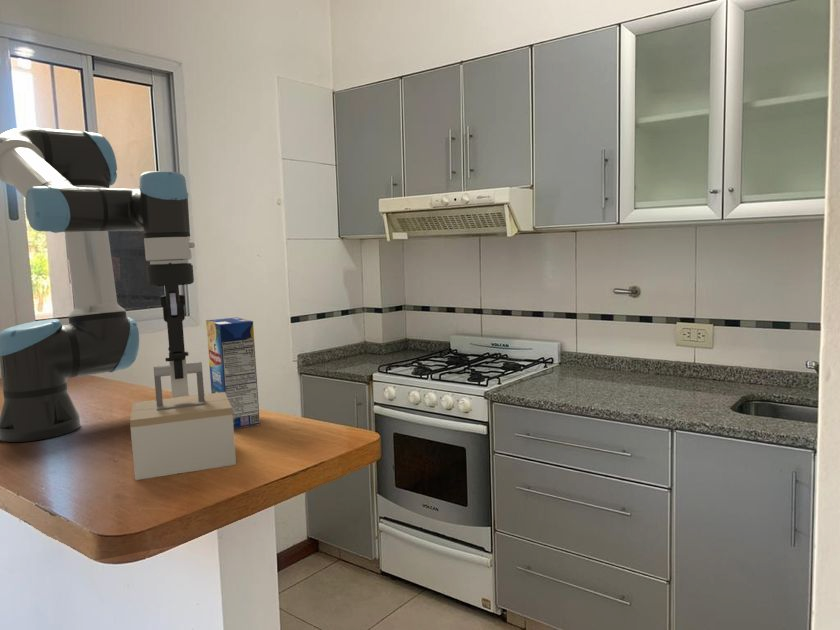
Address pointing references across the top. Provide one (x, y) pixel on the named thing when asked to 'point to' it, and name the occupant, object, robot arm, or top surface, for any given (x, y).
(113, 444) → the top surface
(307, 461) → the top surface
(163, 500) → the top surface
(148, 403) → the rear flap
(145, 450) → the carton
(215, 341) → the beverage box
